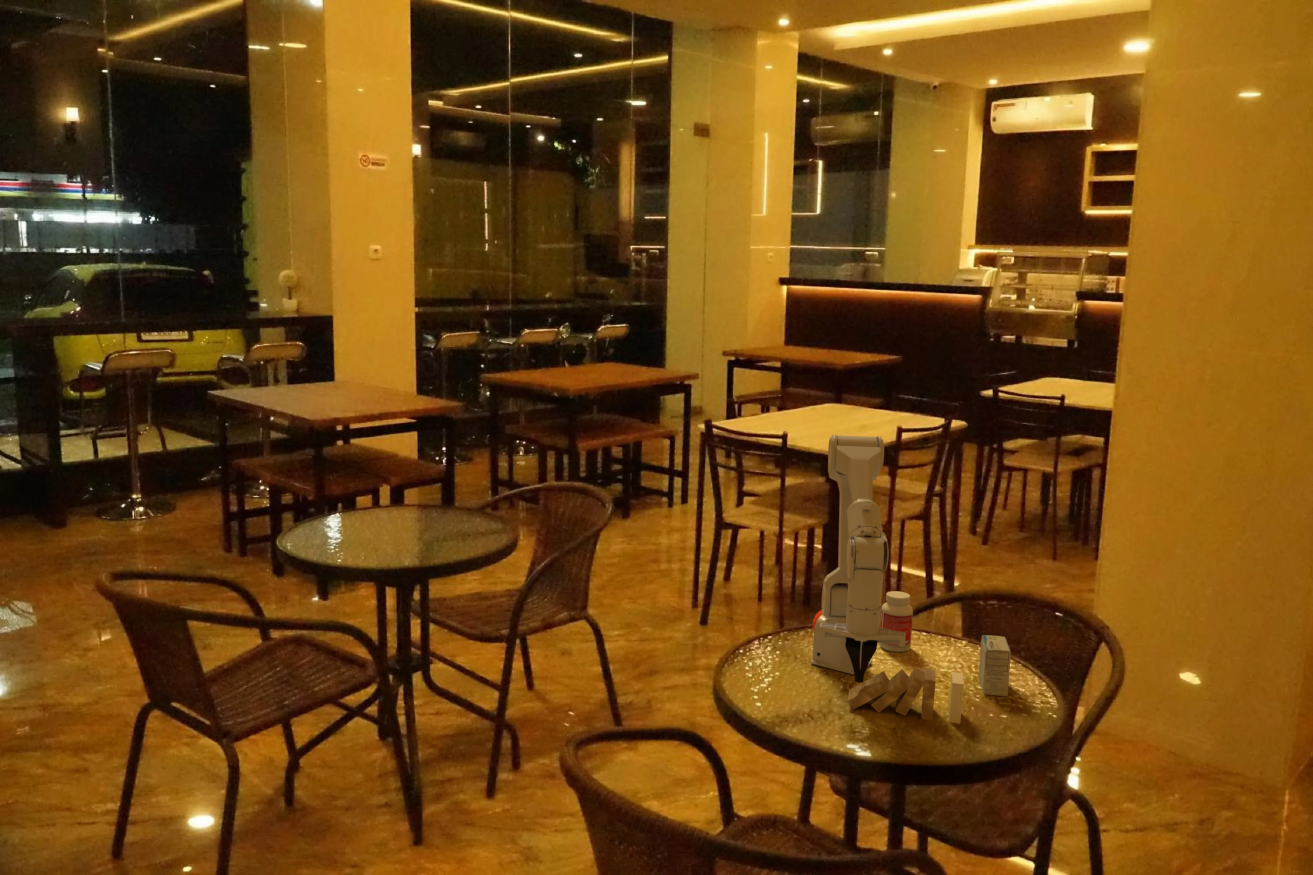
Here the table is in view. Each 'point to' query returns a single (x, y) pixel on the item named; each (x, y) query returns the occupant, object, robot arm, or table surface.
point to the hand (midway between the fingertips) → (859, 680)
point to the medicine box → (994, 665)
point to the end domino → (956, 697)
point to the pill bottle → (897, 618)
